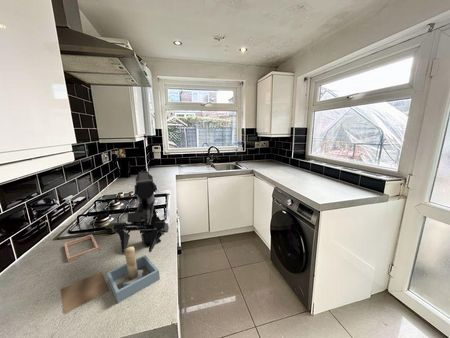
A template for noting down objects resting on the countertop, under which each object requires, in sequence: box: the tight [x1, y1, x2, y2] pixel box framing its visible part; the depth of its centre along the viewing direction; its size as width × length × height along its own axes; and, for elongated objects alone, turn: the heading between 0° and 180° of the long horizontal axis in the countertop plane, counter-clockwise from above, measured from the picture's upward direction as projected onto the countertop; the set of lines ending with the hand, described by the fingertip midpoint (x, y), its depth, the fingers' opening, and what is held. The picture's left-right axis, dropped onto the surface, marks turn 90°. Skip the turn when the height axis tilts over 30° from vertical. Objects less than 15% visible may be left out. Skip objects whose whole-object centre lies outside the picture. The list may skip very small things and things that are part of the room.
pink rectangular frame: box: [63, 233, 100, 263], centre depth 85 cm, size 11×16×2 cm
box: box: [106, 254, 161, 304], centre depth 63 cm, size 13×12×4 cm
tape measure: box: [104, 222, 116, 234], centre depth 98 cm, size 7×7×4 cm
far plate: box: [60, 271, 110, 315], centre depth 60 cm, size 11×12×1 cm
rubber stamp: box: [122, 246, 145, 288], centre depth 62 cm, size 6×4×12 cm, turn 2°
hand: (136, 252), depth 66 cm, fingers open, 9 cm apart
